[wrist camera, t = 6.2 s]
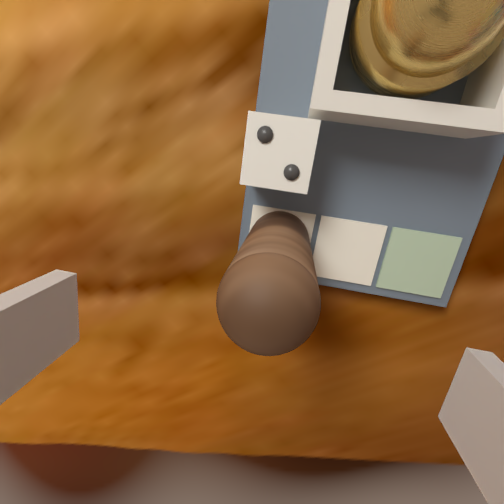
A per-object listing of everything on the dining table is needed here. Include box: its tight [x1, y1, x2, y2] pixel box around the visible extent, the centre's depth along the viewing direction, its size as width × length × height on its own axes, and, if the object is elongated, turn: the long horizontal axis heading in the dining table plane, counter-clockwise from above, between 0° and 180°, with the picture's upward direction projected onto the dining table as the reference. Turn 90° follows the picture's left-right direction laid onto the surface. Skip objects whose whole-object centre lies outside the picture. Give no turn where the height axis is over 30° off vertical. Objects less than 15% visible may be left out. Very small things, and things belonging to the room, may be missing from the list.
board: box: [238, 0, 504, 307], centre depth 20 cm, size 22×16×1 cm
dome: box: [349, 0, 504, 99], centre depth 14 cm, size 7×7×6 cm
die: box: [240, 111, 321, 194], centre depth 19 cm, size 4×4×4 cm
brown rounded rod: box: [216, 211, 321, 356], centre depth 16 cm, size 4×4×12 cm
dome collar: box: [308, 0, 504, 139], centre depth 16 cm, size 10×10×4 cm
